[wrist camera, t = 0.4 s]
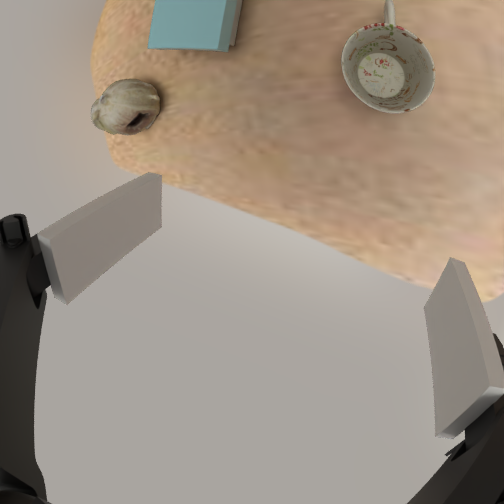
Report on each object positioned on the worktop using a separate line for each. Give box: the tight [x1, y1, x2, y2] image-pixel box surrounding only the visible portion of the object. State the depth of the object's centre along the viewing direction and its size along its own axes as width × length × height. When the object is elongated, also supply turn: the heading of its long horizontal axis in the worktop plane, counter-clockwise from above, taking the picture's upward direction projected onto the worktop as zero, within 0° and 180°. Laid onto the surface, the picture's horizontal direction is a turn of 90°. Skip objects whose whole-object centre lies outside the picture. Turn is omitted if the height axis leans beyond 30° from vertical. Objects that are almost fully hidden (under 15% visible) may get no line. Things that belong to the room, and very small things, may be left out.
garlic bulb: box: [91, 79, 160, 135], centre depth 36 cm, size 9×8×10 cm
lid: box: [148, 0, 237, 52], centre depth 25 cm, size 13×9×3 cm
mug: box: [341, 0, 435, 113], centre depth 23 cm, size 8×13×10 cm, turn 179°
